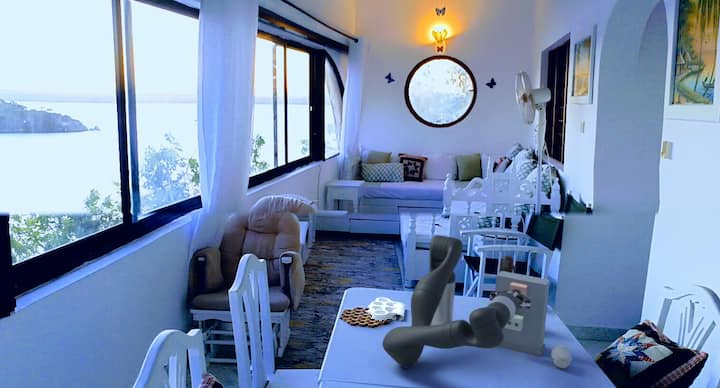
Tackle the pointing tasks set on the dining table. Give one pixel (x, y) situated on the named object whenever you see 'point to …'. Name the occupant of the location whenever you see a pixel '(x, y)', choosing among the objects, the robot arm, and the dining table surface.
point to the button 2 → (515, 323)
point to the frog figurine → (561, 356)
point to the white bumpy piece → (386, 309)
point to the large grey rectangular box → (526, 313)
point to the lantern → (508, 263)
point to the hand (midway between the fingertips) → (516, 292)
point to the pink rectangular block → (519, 288)
